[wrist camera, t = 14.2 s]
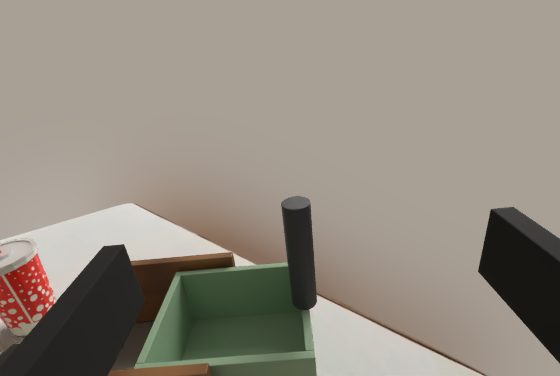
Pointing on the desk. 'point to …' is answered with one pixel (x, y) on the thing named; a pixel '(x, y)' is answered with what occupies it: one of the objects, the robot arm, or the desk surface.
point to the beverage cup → (23, 286)
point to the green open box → (243, 312)
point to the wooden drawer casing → (154, 287)
